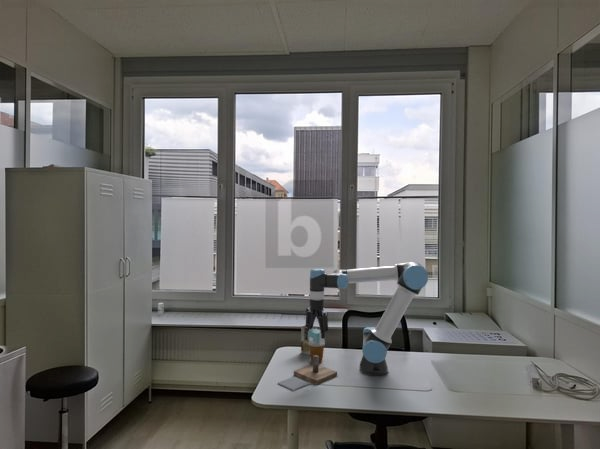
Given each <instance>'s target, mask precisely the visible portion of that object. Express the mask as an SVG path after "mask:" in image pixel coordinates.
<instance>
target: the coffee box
mask: <svg viewBox="0 0 600 449" xmlns="http://www.w3.org/2000/svg"><path fill="white" fill-rule="evenodd" d="M300 329H301V330H300V331H301V332H300V333H301V334H300V353H301V354H303V355H308V356H310V346H309V341H308V331H309V329H308V327H306V326H305V325H303V326H301V328H300ZM313 329H319V330H320V326H319V327H318V326H315V325H313Z"/></svg>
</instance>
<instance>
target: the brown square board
mask: <svg viewBox="0 0 600 449" xmlns="http://www.w3.org/2000/svg"><path fill="white" fill-rule="evenodd" d="M293 376H294V377H297V378H299V379H301V380H304V381H306V382H308V383H310V382H311V383H312V384H314V385H319V384H321V383H323V382H325V381H328V380H330V379H332V378H334V377H337V376H338V371H336V370H333V369H331V368H329V367H326V366H323V365H320V363H319V356H318V355H314V356H313V363H312V364H309V365H306V366H304V367H301V368H299V369H296V370H294V371H293Z"/></svg>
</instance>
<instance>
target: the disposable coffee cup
mask: <svg viewBox="0 0 600 449" xmlns="http://www.w3.org/2000/svg"><path fill="white" fill-rule="evenodd" d="M325 344H326V341H324V344H322V345H319V343H314V342H309V346H310V355H309V356H310V362H311V363H312V364H313V356H314V355H318V356H319V364H321V363H322V362H323V356H324V351H325V350H324V349H325Z"/></svg>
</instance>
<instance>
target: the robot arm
mask: <svg viewBox="0 0 600 449" xmlns="http://www.w3.org/2000/svg"><path fill="white" fill-rule="evenodd" d="M388 281H391V282H392V281H396V285H397V289H396V290H395V291H394V294H393V295H392V297H391V299H390V301H389V303H388V305H387V307H386V308H385V311H384V312H383V314H382V316H381V318H380V320H379V322H378V323H377V325H376V326H375V327H374V326H373V327H371V326H369V327H368V326H366V327H365V328H363V332H362V334H363V339H362V341H363V342H362V348H361V350H362V357H361V360H360V363H359V367H358V368H359V372H360V373H362V374H365V375H369V376H376V377H377V376H384V375H387V374H388V372H389V367H388V363H387V361H386V360H387V359H386V357H387V355H388V350H389V348H390V346H391V345H392V342H393V341H392V336H393V334H394V332H395V330H396V328H397V327H398V325H399V324H400V322H401V320H402V318H403V316H404V314H405V312H406V311H407V308H408V307H409V305H410V303H411V302H412V301H413V298H414V297H416V296H418V295H419V294H420V292H421V291H422V289H423V288H424V287H426V285H427V283H428V281H429V274H428V270H427V269H426V268H425V266H422V264H420V263H419V262H417V261H408V262H403V263H402V262H401V263H395V264H394V266H393V265H392V266H389V265H388V266H378V267H377V266H375V267H364V268H350V269H335V270H334V271H333V272H332V273H331V272H330V273H327V272H325V270H324V268H312V269H310V271H309V307H308V308H305V312H306V314H305V325H304V326H306V327H308V329H309V331H310V330H313V326H314V323H315V320H316V319H317V321H318V326H319V330H320V331H321V332H319V345H322V344H324V342H325V341H324V338H325V339H326V333H327V332H329V320H328V319H329V318H328V317H329V316H328V315H329V312H328V311H326V310H324V306H325V299H324V298H325V288H326V289H327V288H329V289H339V290H341V289H347V288H348V284H357V283H358V284H359V283H372V282H373V283H374V282H388ZM309 342H311V341H309Z"/></svg>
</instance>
